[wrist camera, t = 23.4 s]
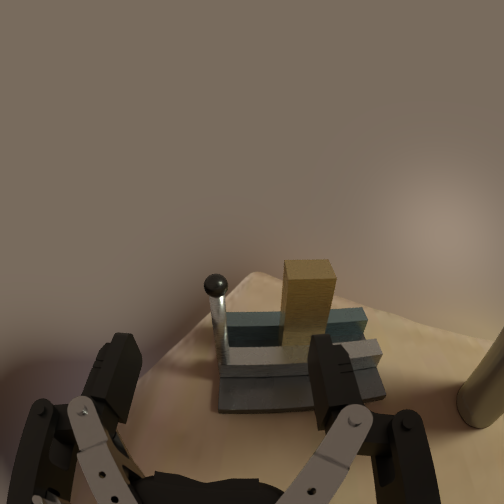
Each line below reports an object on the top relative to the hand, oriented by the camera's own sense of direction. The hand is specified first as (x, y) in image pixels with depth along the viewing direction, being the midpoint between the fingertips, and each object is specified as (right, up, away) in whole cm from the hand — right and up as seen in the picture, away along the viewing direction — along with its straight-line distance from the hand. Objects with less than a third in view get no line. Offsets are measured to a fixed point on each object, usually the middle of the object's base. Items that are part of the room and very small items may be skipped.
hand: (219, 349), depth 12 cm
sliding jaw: (+8, -12, +24) cm, 28 cm away
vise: (+8, -11, +27) cm, 31 cm away
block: (+8, -10, +28) cm, 30 cm away
